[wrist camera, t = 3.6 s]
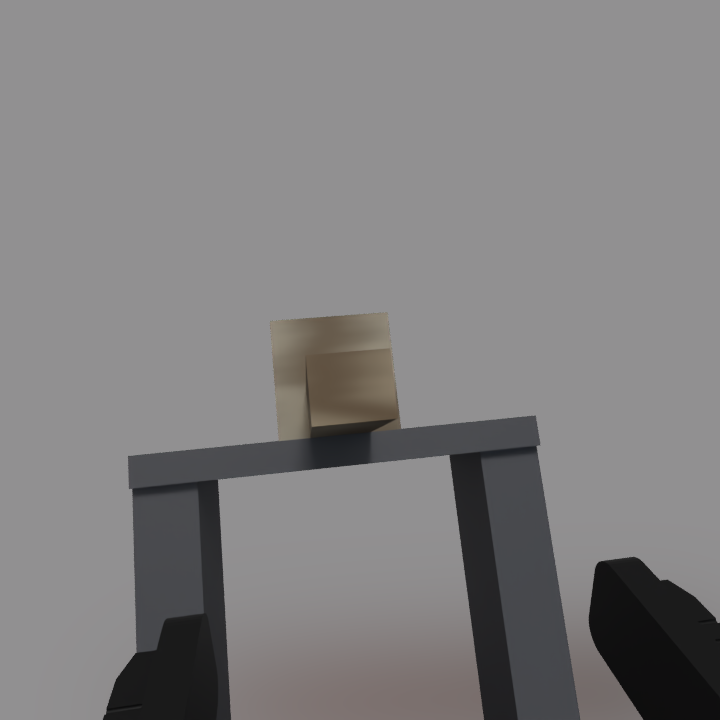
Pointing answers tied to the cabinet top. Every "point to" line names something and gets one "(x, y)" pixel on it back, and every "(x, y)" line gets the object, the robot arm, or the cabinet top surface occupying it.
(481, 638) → the wooden stand
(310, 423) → the wooden mallet
